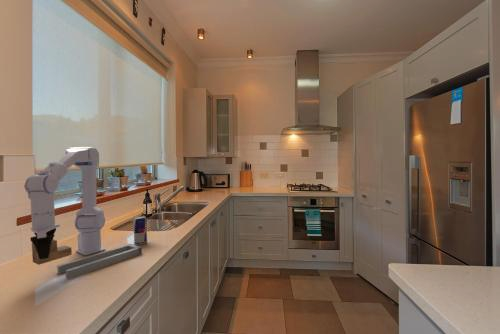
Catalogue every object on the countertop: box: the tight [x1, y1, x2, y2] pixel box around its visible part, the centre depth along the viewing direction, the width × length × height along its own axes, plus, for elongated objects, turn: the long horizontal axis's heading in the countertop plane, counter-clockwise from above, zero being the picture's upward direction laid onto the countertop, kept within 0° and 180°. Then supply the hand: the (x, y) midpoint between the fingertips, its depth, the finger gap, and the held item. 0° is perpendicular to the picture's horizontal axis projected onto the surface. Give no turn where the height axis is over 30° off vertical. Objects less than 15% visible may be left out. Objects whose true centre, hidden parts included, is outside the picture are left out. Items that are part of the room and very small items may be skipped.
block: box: [31, 239, 72, 266], centre depth 82 cm, size 4×9×6 cm, turn 149°
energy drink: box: [132, 215, 148, 246], centre depth 116 cm, size 5×5×12 cm
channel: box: [56, 243, 143, 280], centre depth 95 cm, size 9×26×2 cm, turn 145°
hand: (45, 255), depth 81 cm, fingers closed on block, 6 cm apart
